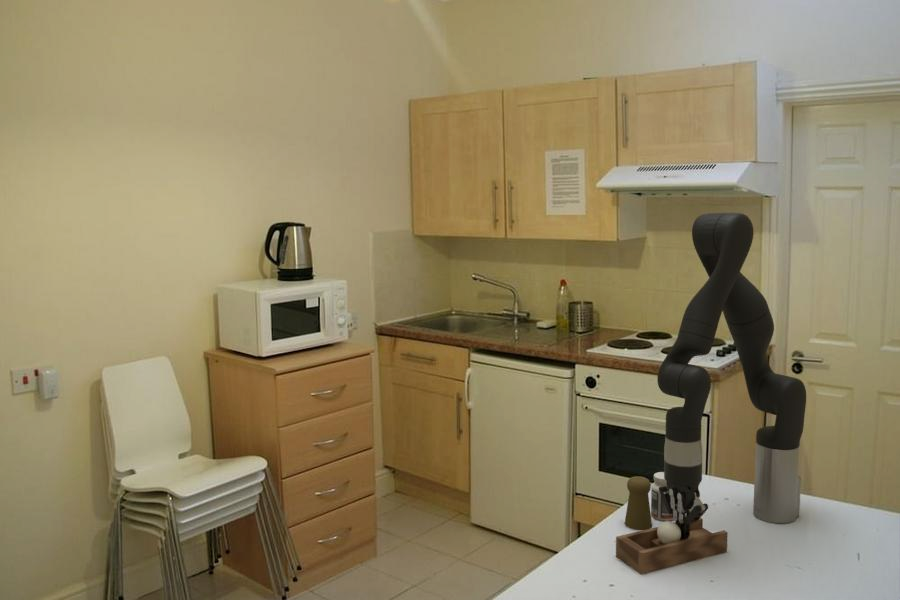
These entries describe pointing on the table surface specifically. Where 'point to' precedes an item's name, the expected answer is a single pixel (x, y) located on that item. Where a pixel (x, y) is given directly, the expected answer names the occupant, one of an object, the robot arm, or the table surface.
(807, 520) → the table surface
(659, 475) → the pill bottle
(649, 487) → the pepper mill
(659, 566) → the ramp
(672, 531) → the ball
